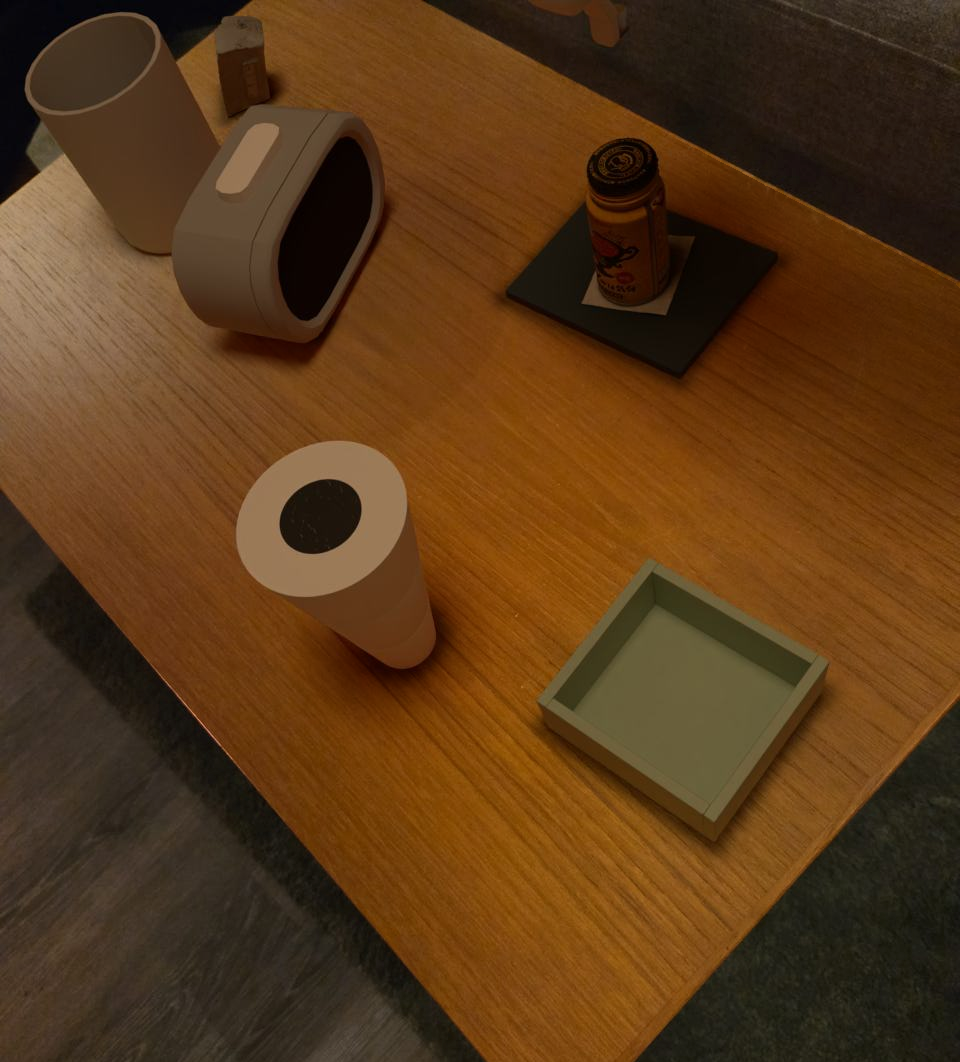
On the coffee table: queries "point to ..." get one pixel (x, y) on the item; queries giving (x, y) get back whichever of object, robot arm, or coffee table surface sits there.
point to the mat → (659, 340)
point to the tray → (683, 696)
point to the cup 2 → (341, 547)
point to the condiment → (631, 230)
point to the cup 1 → (124, 122)
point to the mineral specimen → (241, 62)
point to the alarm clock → (280, 222)
